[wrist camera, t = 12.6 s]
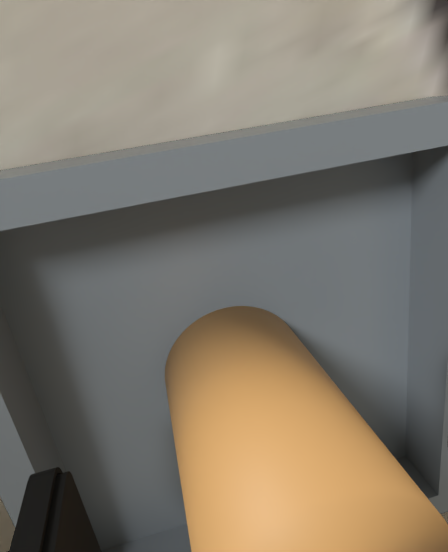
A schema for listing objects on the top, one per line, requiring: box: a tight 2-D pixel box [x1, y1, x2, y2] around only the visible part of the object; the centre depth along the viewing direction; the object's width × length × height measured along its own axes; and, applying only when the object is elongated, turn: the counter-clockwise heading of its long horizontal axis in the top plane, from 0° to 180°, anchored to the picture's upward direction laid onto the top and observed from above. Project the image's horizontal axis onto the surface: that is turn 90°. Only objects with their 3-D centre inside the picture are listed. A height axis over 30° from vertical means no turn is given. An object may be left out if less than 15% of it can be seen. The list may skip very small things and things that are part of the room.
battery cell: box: [165, 306, 448, 552], centre depth 10 cm, size 4×4×8 cm
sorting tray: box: [0, 96, 448, 552], centre depth 13 cm, size 14×14×2 cm
